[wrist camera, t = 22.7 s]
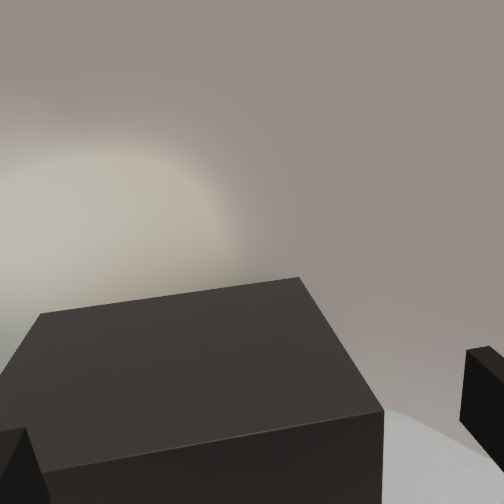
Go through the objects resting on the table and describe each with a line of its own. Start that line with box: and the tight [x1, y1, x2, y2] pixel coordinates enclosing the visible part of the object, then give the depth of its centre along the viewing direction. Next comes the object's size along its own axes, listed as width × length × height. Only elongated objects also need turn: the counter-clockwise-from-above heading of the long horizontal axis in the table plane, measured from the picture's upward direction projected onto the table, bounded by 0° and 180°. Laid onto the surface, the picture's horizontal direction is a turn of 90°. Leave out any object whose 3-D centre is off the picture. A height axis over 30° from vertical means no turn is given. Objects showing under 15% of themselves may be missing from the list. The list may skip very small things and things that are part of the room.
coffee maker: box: [0, 277, 384, 504], centre depth 25 cm, size 17×13×21 cm
